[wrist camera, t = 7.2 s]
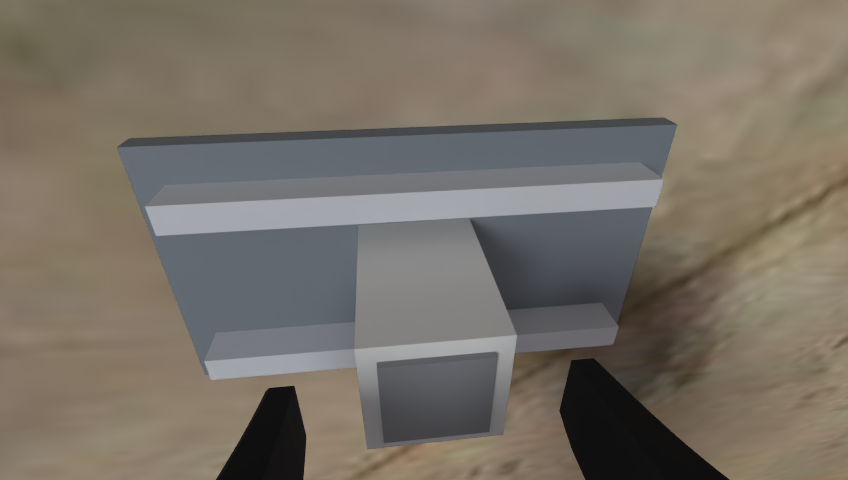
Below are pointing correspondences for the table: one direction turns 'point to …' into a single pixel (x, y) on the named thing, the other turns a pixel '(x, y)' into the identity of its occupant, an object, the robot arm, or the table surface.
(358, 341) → the block
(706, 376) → the table surface
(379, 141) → the rail dock
